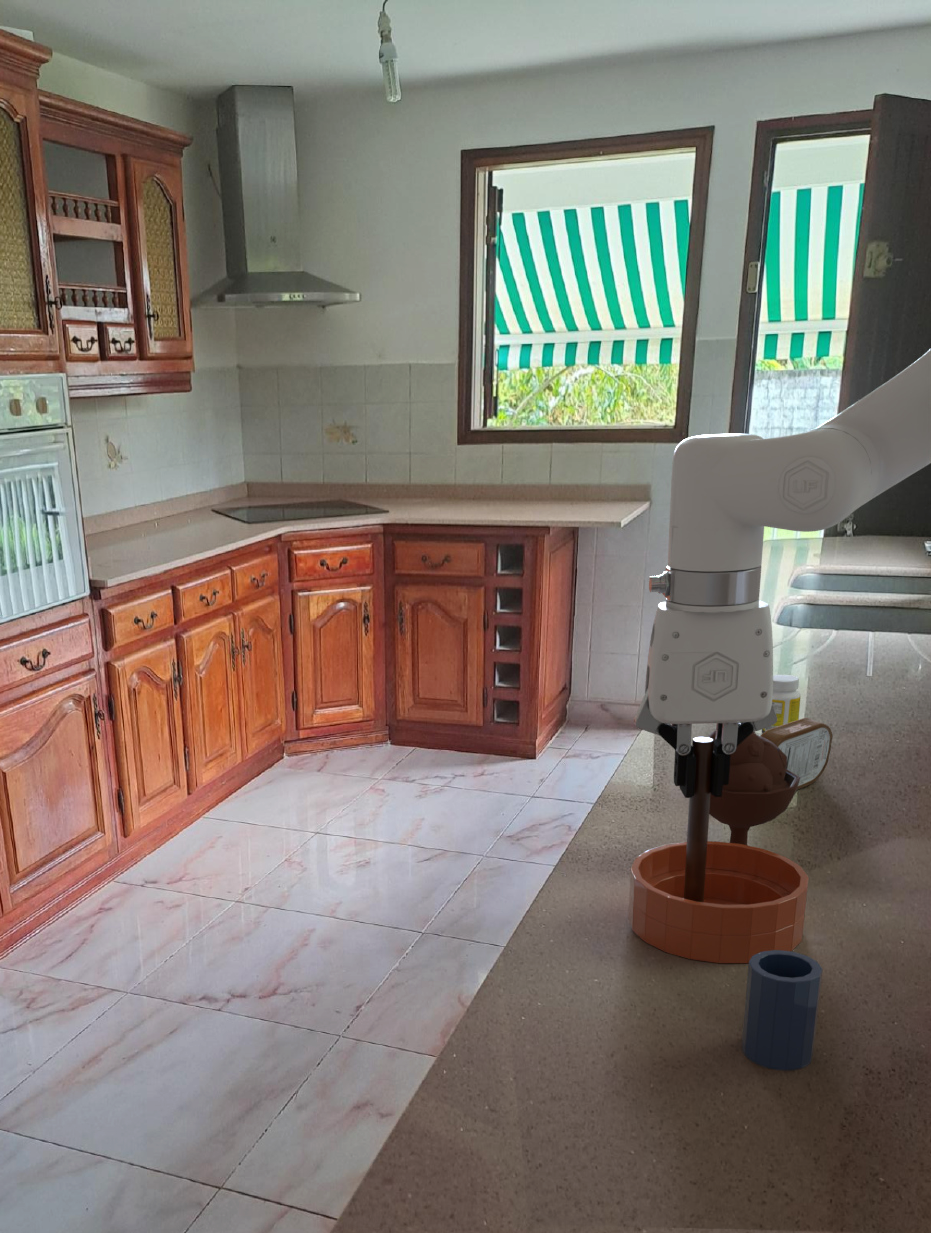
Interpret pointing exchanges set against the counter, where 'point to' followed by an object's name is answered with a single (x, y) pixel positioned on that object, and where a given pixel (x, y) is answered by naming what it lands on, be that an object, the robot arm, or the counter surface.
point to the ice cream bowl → (754, 787)
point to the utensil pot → (781, 1009)
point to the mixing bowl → (718, 903)
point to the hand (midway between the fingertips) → (700, 791)
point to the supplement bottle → (785, 699)
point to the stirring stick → (698, 821)
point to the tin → (803, 747)
